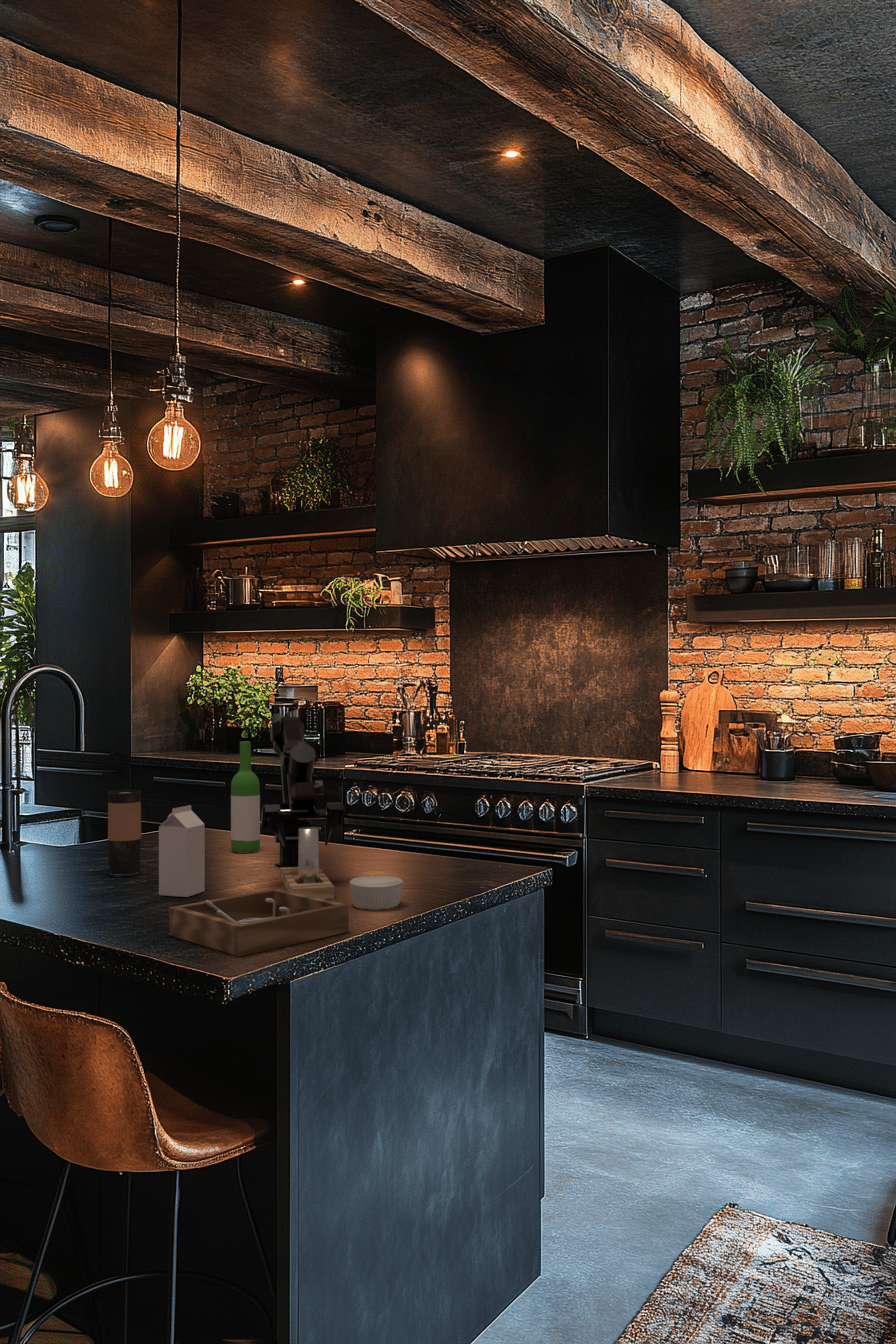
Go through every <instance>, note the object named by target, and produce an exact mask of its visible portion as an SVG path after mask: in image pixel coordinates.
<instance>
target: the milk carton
mask: <svg viewBox="0 0 896 1344" xmlns="http://www.w3.org/2000/svg"><path fill="white" fill-rule="evenodd" d="M171 811H172V812H171V813H169V815H168V816H167V819H165V820H164V821H163V822H162V823H161V824H160V825H159V826H158V896H167V897H178V898H180V897H181V898H189V897H191V896H194V895H197V894H201V893H203V892H205V891H206V890H205V886H206V885H205V884H206V883H205V881H206V879H205V878H206V877H205V866H206V865H205V860H206V859H205V857H206V856H205V852H206V851H205V836H206V835H205V823H204V822H203V820H201V818H199V816H198V815H197V814H196V813H195V812H194V811H193V810H192V805H185V806H180V807H174V808H172V810H171Z"/></svg>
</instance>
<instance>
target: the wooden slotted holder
mask: <svg viewBox="0 0 896 1344" xmlns="http://www.w3.org/2000/svg"><path fill="white" fill-rule="evenodd" d="M280 880H281V882H282V884H283V886H284V888H285V891H289V892H293V893H298V894H302V895H307V896H311V897H316V898H320V899H325V900H330V899H335V886H334V884H333V883H332V882H331V880H330V879H329V878H328V877H327V875H326V874H325V872H324V871H323V869H321V867H320V866H319V883H307V884H298V867H280Z"/></svg>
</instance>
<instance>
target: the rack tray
mask: <svg viewBox="0 0 896 1344" xmlns="http://www.w3.org/2000/svg"><path fill="white" fill-rule="evenodd" d="M267 898H271V899H273V900H275V902H276V915H275V917H274V918H269V917H272V916H273V903H270V902H266V901H265V900H266V899H267ZM205 901H206V900H204V901H203V900H202V901H200V902H194V903H193V902H192V903H187V904H182V905H176V906H171V907H168V936H171V937H174V938H178V939H181V940H184V941H188V942H191V943H193V944H197V945H200V946H203V947H207V948H210V949H214V950H217V951H220V952H223V953H226V954H230V955H232V956H233V955H234V956H237V957H244V956H250V955H252V954H258V953H261V952H267V951H271V950H275V949H279V948H284V947H287V946H293V945H296V944H300V943H305V942H309V941H314V940H318V939H323V938H327V937H331V936H332V937H333V936H335V935H340V934H345V933H349V928H350V927H349V926H350V925H349V918H350V917H349V916H350V915H349V911H350V910H349V906H350V905H349V904H348V903H347V904H346V903H342V902H339V901H338V902H337V901H334V900H330V899H320V898H316V897H311V896H307V895H302V894H298V893H293V892H289V891H287V890H285V889H280V888H272V889H267V890H260V891H255V892H248V893H243V894H239V895H232V896H226V897H221V898H215V899H209V901H210V902H211V903H213V905H214V906H216V907H217V908H218V909H220V910H221V911H223V912H224V913H225V914H227V915H228V916H229V917H231V918H232V919H233V920H235V921H240V920H242V919H246V918H269V919H264V920H259V921H254V922H249V923H244V924H240V923H237V922H233V921H229V920H226V919H225V918H222V917H221V916H219V915H218V914H217V911H216V910H215V909H213V908H212V907H209V906H208V905H207V904H206V903H205ZM280 907H286V908H288V909H289V911H290V914H288V915H287V911H280V910H279V908H280Z"/></svg>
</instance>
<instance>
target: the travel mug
mask: <svg viewBox="0 0 896 1344" xmlns="http://www.w3.org/2000/svg"><path fill="white" fill-rule="evenodd" d="M141 793H142V792H141V790H138V789H120V790H119V789H118V790H111V791H108V798H107V799H108V801H107V802H108V803H107V846H108V847H107V849H108V853H107V854H108V855H107V856H108V873H109V872H110V873H112V874H130V873H131V874H132V873H136V872H139V871H140V872H141V859H142V858H141V856H142V855H141V854H142V853H141V852H142V849H141V848H142V805H141V803H142V801H141V799H142V795H141Z"/></svg>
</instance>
